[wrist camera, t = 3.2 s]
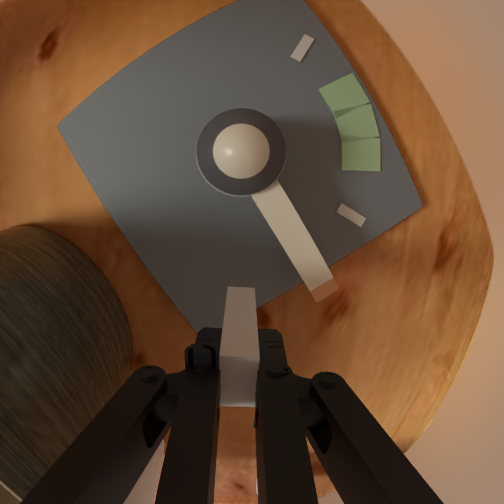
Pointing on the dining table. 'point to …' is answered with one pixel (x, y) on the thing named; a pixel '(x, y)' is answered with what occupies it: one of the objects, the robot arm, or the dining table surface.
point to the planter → (52, 352)
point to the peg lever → (261, 185)
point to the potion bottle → (147, 480)
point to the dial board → (218, 202)
